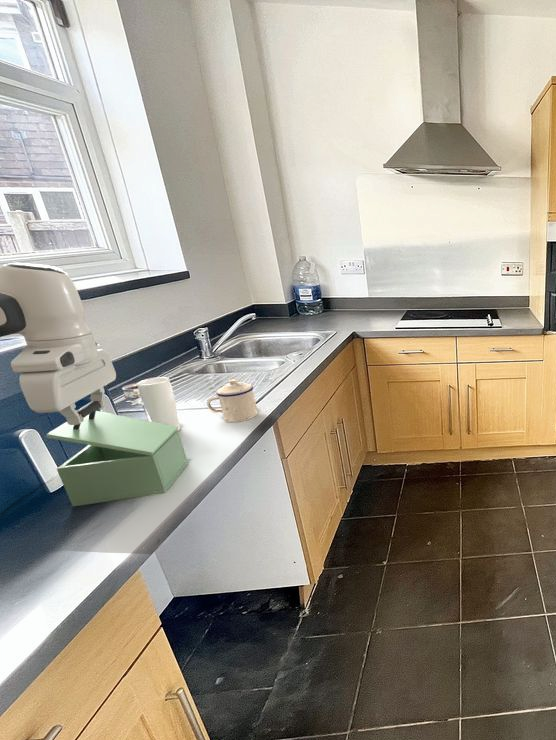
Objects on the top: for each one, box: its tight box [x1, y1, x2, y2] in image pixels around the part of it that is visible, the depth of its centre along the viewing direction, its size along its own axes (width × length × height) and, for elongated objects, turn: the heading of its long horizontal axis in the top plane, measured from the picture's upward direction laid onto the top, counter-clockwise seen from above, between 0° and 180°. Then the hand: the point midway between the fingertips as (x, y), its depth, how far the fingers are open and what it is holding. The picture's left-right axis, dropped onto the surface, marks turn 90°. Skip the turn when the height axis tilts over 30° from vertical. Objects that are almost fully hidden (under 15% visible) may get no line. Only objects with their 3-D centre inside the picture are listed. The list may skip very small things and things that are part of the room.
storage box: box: [56, 430, 189, 507], centre depth 90 cm, size 16×13×9 cm
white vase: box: [136, 376, 181, 431], centre depth 112 cm, size 7×7×15 cm
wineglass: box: [121, 382, 152, 422], centre depth 117 cm, size 7×7×12 cm
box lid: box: [45, 401, 178, 456], centre depth 87 cm, size 16×13×5 cm
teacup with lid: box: [206, 378, 259, 423], centre depth 122 cm, size 12×9×12 cm
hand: (88, 416), depth 84 cm, fingers closed on box lid, 6 cm apart
